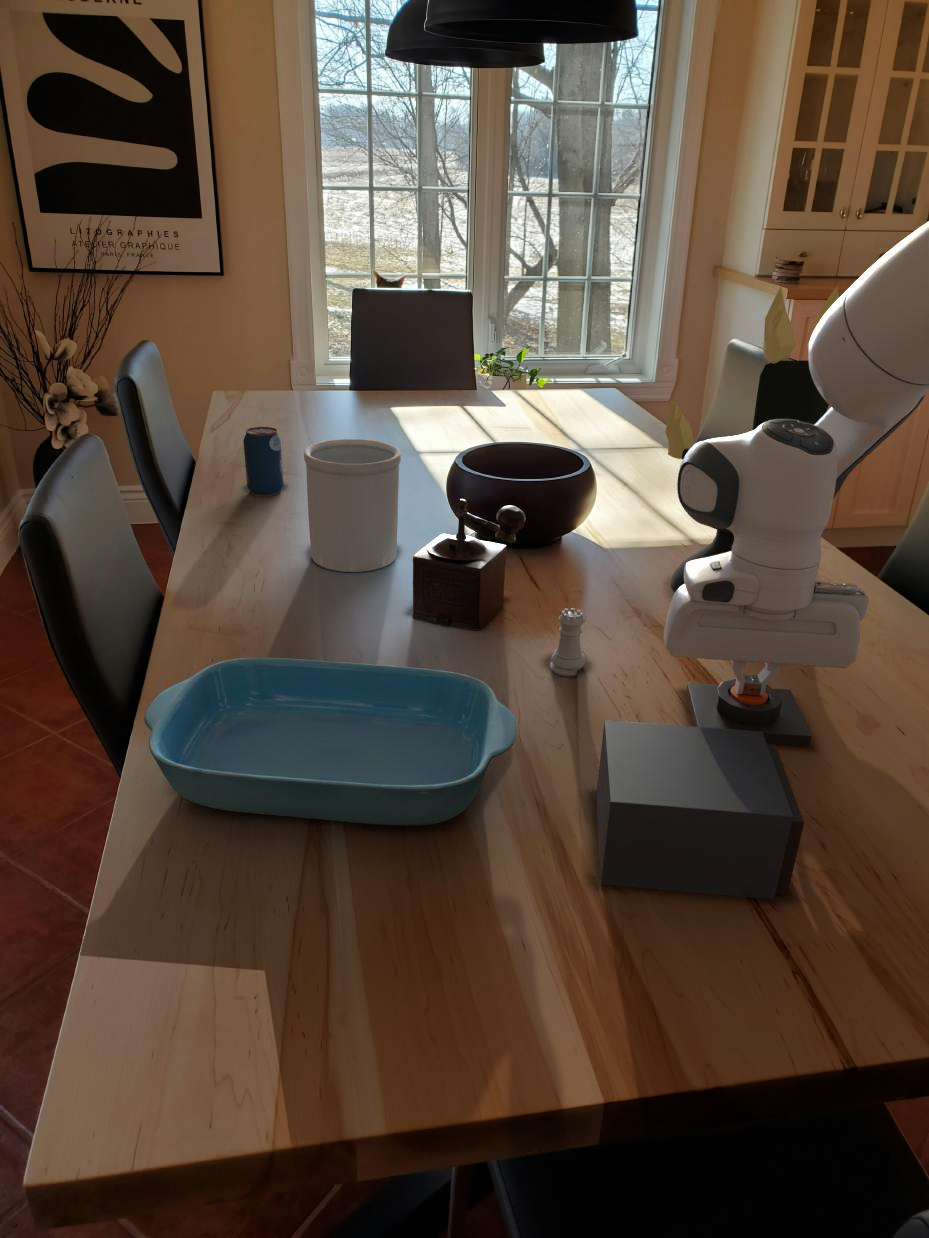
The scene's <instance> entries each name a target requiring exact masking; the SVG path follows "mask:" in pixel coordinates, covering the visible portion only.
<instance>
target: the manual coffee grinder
mask: <svg viewBox="0 0 929 1238" xmlns="http://www.w3.org/2000/svg"><path fill="white" fill-rule="evenodd" d="M457 506H458V508H457V510H456V515H457V516H458V526H457V527H458V529H457V533H456V534H454V535H453V534H448V533H447V534H446V533H441V534H440V535H437V537H435V538H434V539H433V540H432V541H430V542H429V543H427V544H426V545H425V546H424V547H422V548H421V549H420V550H418V552H416V553H415V554H414V555H413V556H412V619H413V620H417V621H422V622H425V623H431V624H434V625H438V626H443V627H448V628H449V627H450V628H457V629H462V630H463V629H464V630H473V631H481V630H482V629H484V628H485V627H486V626H488V625H489V624H490V622H491V621H492V620H494V618H495V617H496V616H497V615H498V614H499V613H500V611H501V609H502V606H503V605H504V603H505V578H506V577H505V576H506V561H507V559H506V558H507V545H510V544H515V543H516V541H517V537H516V534H517V532H518V531H520V530H521V529H522V528H524V527H525V523H526V519H527V518H526V514H525V512H524V511H523V510H522V509H520V508H519V507H517V506H515V505H504V506H503V507H500V509H499V510H498V511H497V513H496V521H497V523H498V524H496V523H494V522H492V521H488V520H486V519H483V518H481V517H479V516H475V515H473V514H471V513H469V512H468V509H467V507H468V502H467V500H466V499H464V498H460V499H459V500H458V501H457ZM466 520H468V521H469V522H471V523H473V524H476V525H478V526H482V527H484V528H487V529H489V530H492V531H494V532H495V540H498V541H499V542H500V543H497V542H492V541H486V540H480V539H478V538H476V537H473V536H471V535H468V534H466V531H465V530H466ZM506 544H507V545H506Z"/></svg>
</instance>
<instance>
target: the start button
mask: <svg viewBox="0 0 929 1238" xmlns="http://www.w3.org/2000/svg"><path fill="white" fill-rule="evenodd" d="M730 697H732V698H733V699H735V700H736V701H738V702H741V703H744V704H747V705H762V704H766V703H767V699H768V694H767V692H766V691H765V694H764V696H754V695H739V694H737V693H736V690H735V686H733V687H732V688H731V693H730Z"/></svg>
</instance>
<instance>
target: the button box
mask: <svg viewBox="0 0 929 1238" xmlns="http://www.w3.org/2000/svg"><path fill="white" fill-rule="evenodd" d="M735 684H736V678H733V679H728V680H724V681H722V682H720V684H715V683H701V682H697V683H696V682H686V689H685V695H686V699H687V704H688V708H689V712H690V715H691V720H692V724H693V727H705V728H719V729H733V730H746V731H760V732H763V735H764V738H765V741H766V743H767V744H775V745H776V746H787V747H799V748H810V746H811V742H812V737H813V736H812V734H811V731H810V729H809V727H808V724H807V723H806V721H805V718H804V716H803V713H802V712H801V709H800V707H799V705H798V702H797V701H796V698H795V696H794V694H793V692H792V690H791V689H786V688H773V687H771V686H770V685H768V684H766V689H765V691H766V692H767V694H768V699H767V703H766V704H762V705H747V704H744V703H741V702H738V701H736V700H735V699H733V698H732V697H730V693H731V688H732V687H733V686H735Z"/></svg>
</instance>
